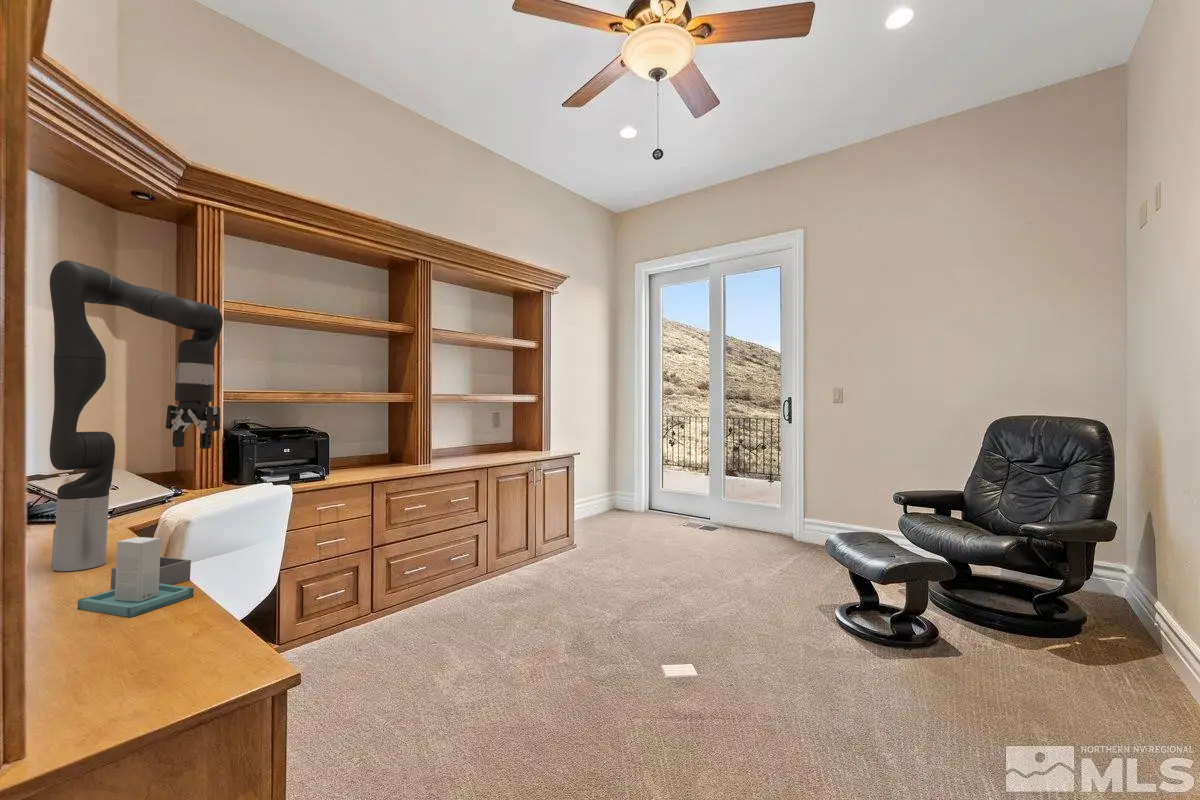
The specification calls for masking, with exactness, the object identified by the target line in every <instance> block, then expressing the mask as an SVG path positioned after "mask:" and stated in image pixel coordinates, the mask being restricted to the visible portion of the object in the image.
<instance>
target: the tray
mask: <svg viewBox="0 0 1200 800" xmlns="http://www.w3.org/2000/svg"><path fill="white" fill-rule="evenodd" d="M194 589H195V588H194V587H189V586H181V585H176V584H173V585H169V584H161V583H159V595H158V596H155V597H153V598H150V599H147V600H144V601H141V602H132V601H118V600H115V589H114V590H113V589H110V590H108V591H103V592H100V593H96V594H94V595H93V594H92V595H89V596H86V597H83V598H79V599H77V610H82V611H89V612H95V613H102V614H107V615H113V616H119V617H120V616H121V617H126V618H133V617H136V616H139V615H142V614H145V613H148V612H152V611H154V610H157V609H161V608H163V607H166V606H169V605H172V604H176V603H178V602H180V601H181V602H182V601H185V600H188V599H191V598H192V597H194V592H195V591H194Z"/></svg>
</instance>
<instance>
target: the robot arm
mask: <svg viewBox="0 0 1200 800" xmlns="http://www.w3.org/2000/svg"><path fill="white" fill-rule="evenodd" d="M49 291H50V292H49V293H50V298H51V307H52V315H53V328H54V329H53V332H54V333H53V334H54V337H53V338H54V348H53V349H54V352H53V387H54V388H53V391H54V392H53V393H54V394H53V395H54V396H53V398H54V399H53V400H54V401H53V402H54V403H53V414H52V415H53V416H52V423H51V433H50V441H49V458H50V463H51V465H52V466H53V468H54V469H56V470H58V471H73V470H74V471H75V470H85V471H86V472H85V473H84V474H83V475H81V476H80V477H78V478H76V479H74V480H73V481H70V482H67V483H64V484H62V485H59V486H58V488H57V491H56V510H55V512H56V515H55V528H54V529H53V532H52V533H53V534H52V535H53V537H52V553H51V554H52V556H51V568H52V569H53V571H55V572H73V571H83V570H88V569H93V568H97V567H101V566H102V565H105V564H106V561H107V560H106V559H107V547H108V546H107V544H108V542H107V541H108V525H109V524H108V523H109V522H108V521H109V503H110V502H109V501H110V488H111V485H112V481H113V471H114V464H115V456H116V444H115V439H114V437H113V436H112V434H111V433H109V432H107V431H77V427H78V422H79V418H80V416H81V413H82V411H83V410H84V407H86V405H87V404H88V403H89V401H90V400H91V399H92V398H93V397H94V396H95V395H96V394H97V392H98V391H99V390H100V388H102V386H103V385H104V383H105V381H106V377H107V376H106V375H107V357H106V351H105V348H104V347H103V344H102V343H101V342H100V340H99V339H98V337H97V336H96V334H95V332H94V331H93V329H92V328H91V326H90V324H89V322H88V319H87V315H86V304H96V305H97V304H98V305H105V306H106V305H108V306H116V307H122V308H125V309H129V310H131V311H132V312H135V313H138V314H140V315H143V316H146V317H148V318H151V319H156V320H158V321H163V322H166V323H169V324H171V325H173V326H176V327H180V328H182V329H185V330H186V329H187V330H190V331H191V330H193V331H194V332H193V334H192V335H191V339H183V340H180V342H179V344H178V351H177V352H178V353H177V366H176V370H175V381H174V382H175V383H174V384H175V385H174V400H175V401H176V402H178V405H177V404H172V405H171V404H169V405H167V409H166V410H167V411H166V419H165V421H166V422H165V428H166V430H168V429H169V430H170V431H171V432H172V447H173V448H183V447H184V446H185V430H186V429H187V427H188V426H189V425H191V424H194V425H195V427H197V428H198V429H199V431H200V434H199V439H200V440H199V449H201V450H208V449H211V447H212V440H213V434H214V432H218V431H220V430H221V408H220V406H214V405H213V406H210V402H211V403H212V402H213V401H214V388H215V387H214V386H215V385H214V384H215V370H214V361H215V360H214V356H215V355H214V353H215V347H216V345H217V342H218V341H219V337H220V334H221V331H222V329H223V323H224V322H223V321H224V320H223V319H224V318H223V315H222V313H221V311H220V310H219V308H218V307H216V306H214V305H211V304H208V303H203V302H200V301H195V300H193V299H192V300H191V299H188V298H184V297H179V296H176V295H174V294H171V293H169V292H166V291H161V290H158V289H154V288H152V287H150V288H149V287H145V286H138V285H135V284H132V283H130V282H127V281H125V280H122V279H120V278H118V277H116V276H114V275H112V274H111V273H109V272H107V271H105V270H103V269H101V268H97V267H94V266H90V265H87V264H84V263H80V262H78V261H75V260H74V261H73V260H69V259H68V260H61V261H59V262H57V263H55V265H54V266H53V268H52V270H51V272H50V276H49ZM172 422H173V423H172ZM213 423H214V425H213Z"/></svg>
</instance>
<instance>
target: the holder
mask: <svg viewBox="0 0 1200 800" xmlns="http://www.w3.org/2000/svg"><path fill="white" fill-rule="evenodd" d="M191 561H192V560H191V559H186V558H177V557H168V556H161V555H160V574H159V583H161V584H169V585H176V584H180V583H182V582H183V583H184V582H186V581H189V580H191V568H192V567H191V565H192V562H191ZM110 570H111V573H110V574H111V575H110V590H114V589H115V580H116V566H115V567H112V568H111V569H110Z"/></svg>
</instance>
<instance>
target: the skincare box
mask: <svg viewBox="0 0 1200 800" xmlns="http://www.w3.org/2000/svg"><path fill="white" fill-rule="evenodd" d="M116 544H117V545H116V561H115V562H116V564H115V567H116V580H115V600H118V601H132V602H141V601H144V600H147V599H150V598H153V597H155V596H158V595H159V574H160V556H161V547H162V538H161V537H160V538H159V537H142V536H136V537H131V538H126V539H122V540H117V543H116Z"/></svg>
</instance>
